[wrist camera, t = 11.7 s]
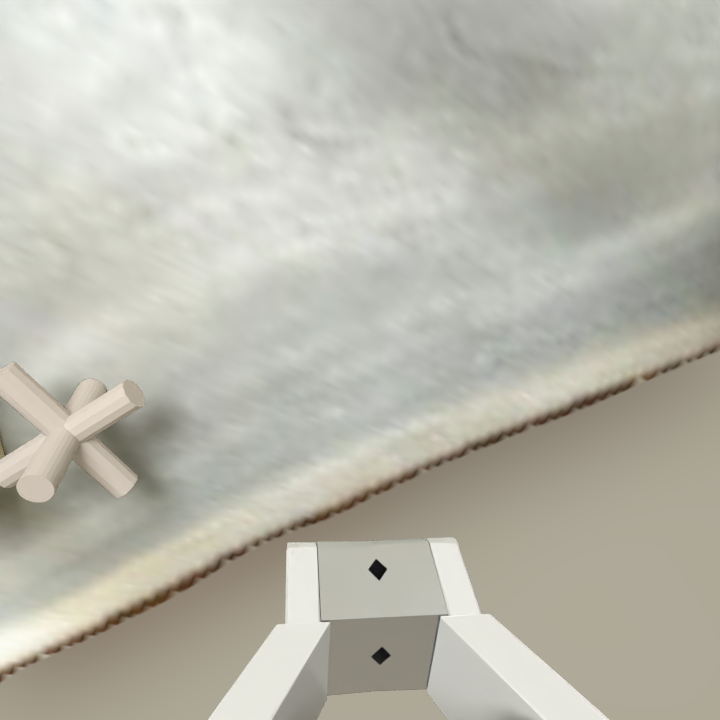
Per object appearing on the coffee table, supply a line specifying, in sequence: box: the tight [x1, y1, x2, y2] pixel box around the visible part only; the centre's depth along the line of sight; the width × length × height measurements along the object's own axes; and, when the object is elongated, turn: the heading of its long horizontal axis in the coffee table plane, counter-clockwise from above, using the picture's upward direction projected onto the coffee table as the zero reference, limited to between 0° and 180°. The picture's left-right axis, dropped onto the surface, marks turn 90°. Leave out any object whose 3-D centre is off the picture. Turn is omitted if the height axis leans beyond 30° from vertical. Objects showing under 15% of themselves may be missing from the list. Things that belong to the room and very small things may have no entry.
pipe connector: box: [0, 362, 145, 502], centre depth 34 cm, size 10×10×10 cm
